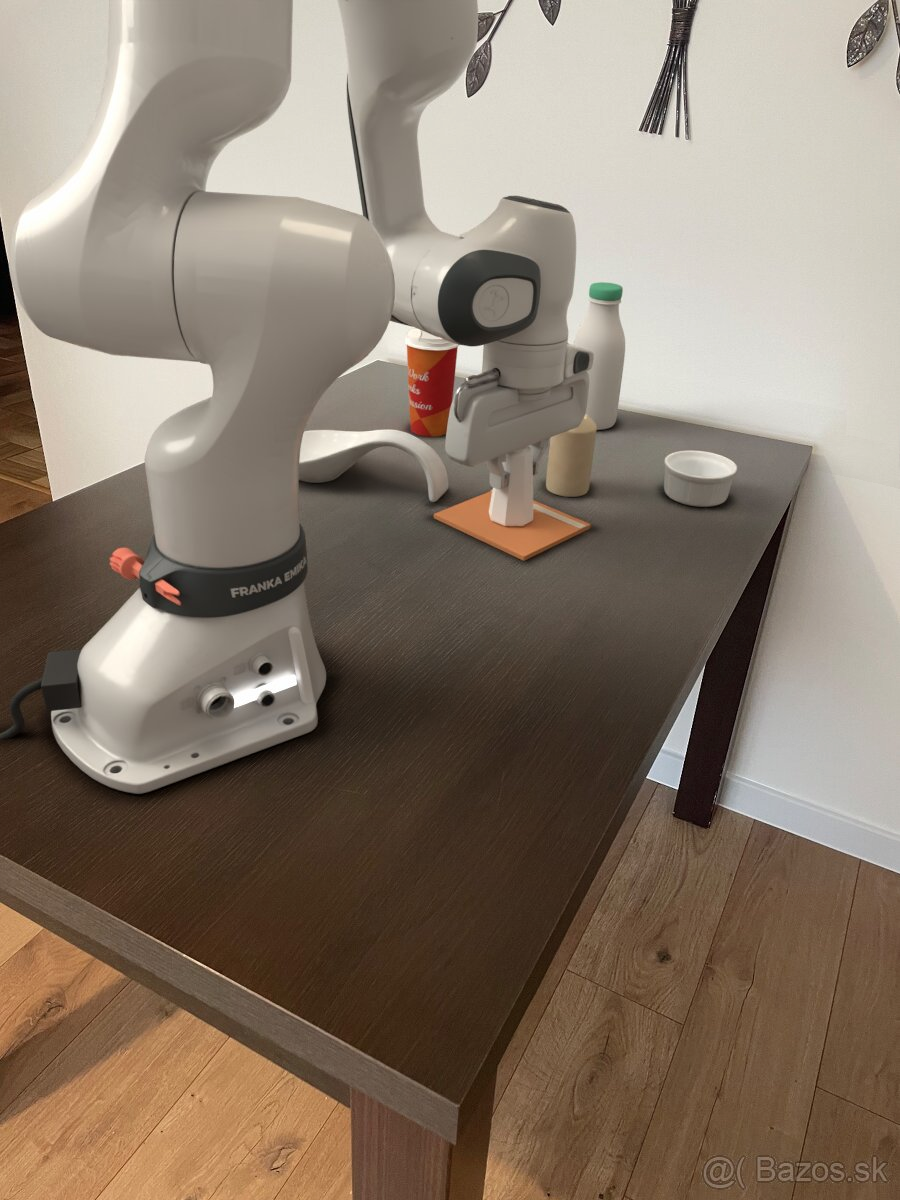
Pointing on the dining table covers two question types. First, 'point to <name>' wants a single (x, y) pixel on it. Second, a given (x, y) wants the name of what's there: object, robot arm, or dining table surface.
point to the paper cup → (430, 381)
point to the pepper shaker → (515, 491)
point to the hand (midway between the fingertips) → (513, 480)
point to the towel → (513, 527)
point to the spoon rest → (341, 449)
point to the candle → (571, 460)
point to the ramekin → (698, 477)
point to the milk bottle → (603, 352)
